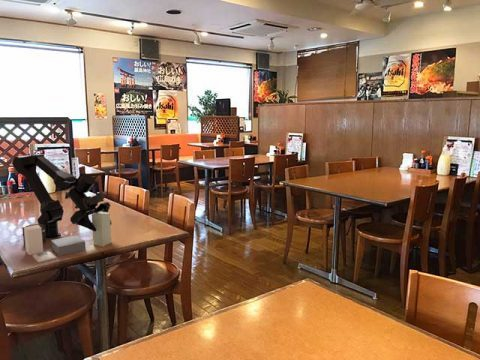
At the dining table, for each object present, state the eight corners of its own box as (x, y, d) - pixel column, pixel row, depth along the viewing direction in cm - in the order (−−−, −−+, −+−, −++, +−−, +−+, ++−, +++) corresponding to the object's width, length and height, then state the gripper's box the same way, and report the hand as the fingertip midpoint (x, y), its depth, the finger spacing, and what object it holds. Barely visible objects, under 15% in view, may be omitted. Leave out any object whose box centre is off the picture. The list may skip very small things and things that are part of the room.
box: (35, 245, 158) (34, 228, 156) (23, 244, 159) (21, 227, 158) (46, 240, 164) (44, 224, 162) (33, 239, 165) (32, 223, 164)
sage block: (93, 244, 159) (91, 214, 157) (101, 241, 164) (100, 211, 161) (103, 246, 157) (101, 215, 155) (111, 242, 162) (109, 212, 160)
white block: (26, 251, 151) (23, 227, 149) (39, 248, 154) (37, 224, 152) (29, 255, 147) (27, 230, 145) (43, 252, 150) (41, 227, 149)
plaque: (32, 256, 146) (32, 254, 145) (49, 252, 149) (49, 251, 149) (38, 262, 140) (38, 260, 140) (55, 258, 144) (55, 256, 143)
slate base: (52, 249, 154) (51, 240, 153) (77, 244, 160) (77, 235, 160) (59, 256, 146) (58, 246, 146) (85, 251, 153) (85, 241, 152)
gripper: (73, 191, 149) (98, 221, 147) (105, 183, 166) (128, 210, 164) (59, 209, 153) (83, 238, 151) (92, 199, 171) (114, 226, 169)
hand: (103, 227), depth 159 cm, fingers open, 9 cm apart
